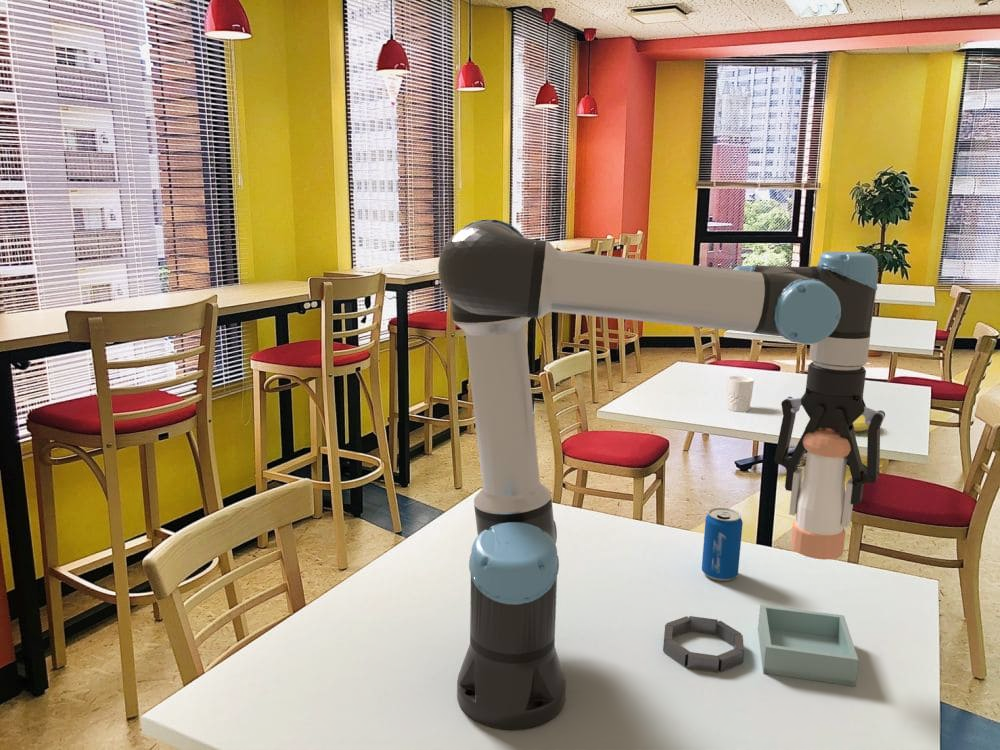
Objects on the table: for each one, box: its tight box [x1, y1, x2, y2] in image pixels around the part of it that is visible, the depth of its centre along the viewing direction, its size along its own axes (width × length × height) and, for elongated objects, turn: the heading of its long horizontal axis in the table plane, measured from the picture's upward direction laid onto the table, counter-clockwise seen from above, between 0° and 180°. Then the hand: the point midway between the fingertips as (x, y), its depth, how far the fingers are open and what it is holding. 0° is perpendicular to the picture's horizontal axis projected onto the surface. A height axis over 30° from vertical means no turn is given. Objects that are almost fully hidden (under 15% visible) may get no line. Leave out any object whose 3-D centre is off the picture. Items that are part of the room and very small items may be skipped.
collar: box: [662, 615, 745, 673], centre depth 126 cm, size 12×12×2 cm
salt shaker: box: [789, 428, 851, 560], centre depth 118 cm, size 7×7×19 cm
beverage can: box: [701, 507, 744, 582], centre depth 149 cm, size 6×6×12 cm
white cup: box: [726, 375, 755, 413], centre depth 259 cm, size 8×8×10 cm
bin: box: [757, 604, 859, 687], centre depth 124 cm, size 13×13×4 cm
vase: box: [853, 415, 869, 433], centre depth 241 cm, size 16×16×7 cm
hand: (819, 517), depth 119 cm, fingers closed on salt shaker, 7 cm apart
